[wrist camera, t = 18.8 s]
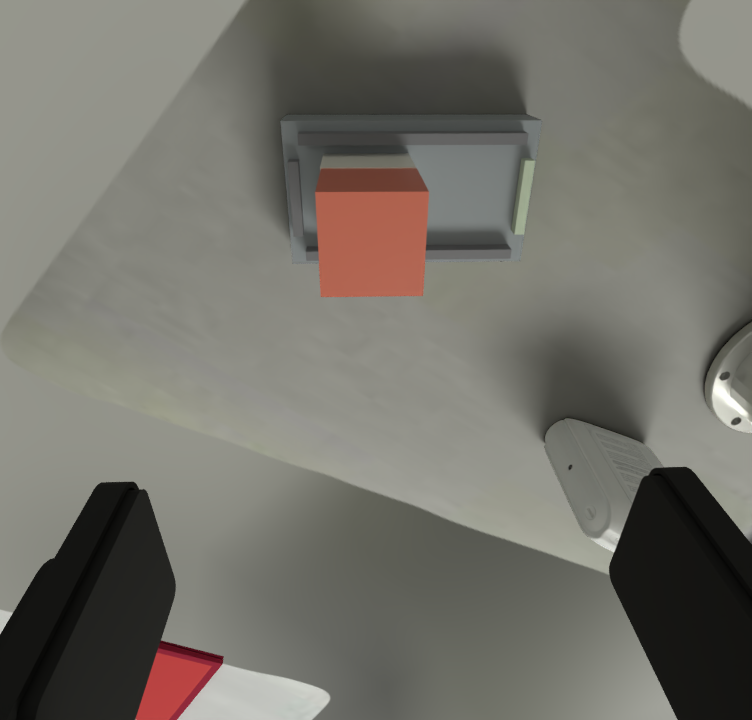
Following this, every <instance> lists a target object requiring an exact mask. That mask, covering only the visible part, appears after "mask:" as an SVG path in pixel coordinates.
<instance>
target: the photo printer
mask: <svg viewBox="0 0 752 720" xmlns="http://www.w3.org/2000/svg"><path fill="white" fill-rule="evenodd" d="M545 442H546V444H545V446H544V448H545V452H546V454H547V456H548V459H549V461H550V463H551V465H552V467H553V470H554V472H555V474H556V476H557V478H558V481H559V483H560V485H561V487H562V489H563V491H564V494H565V496H566V498H567V500H568V502H569V505H570V507H571V509H572V511H573V513H574V515H575V517H576V519H577V522H578V524H579V526H580V528H581V530H582V531H583V533H584V534H585V535H586V536H587V537H589V538H590V539H592V540H593V541H594V542H596V543H597V544H599V545H601V546H602V547H604V548H606V549H608V550H610V551H612V552H615V549H616V546H617V544H618V541H619V538H620V536H621V533H622V530H623V528H624V525H625V522H626V520H627V517H628V514H629V511H630V509H631V506H632V503H633V501H634V498H635V495H636V493H637V490H638V487H639V485H640V482H641V480H642V478H643V477H644V476H648V475H649V473H650V471H651V470H652V469H654V468H664V467H663V465H662V464H661V462H660V461H659V459H658V458H657V457H656V455H655V454H654V453H653V451H652V450H651V449H650V448H649V447H647V446H646V445H644V444H643V443H641V442H639V441H636V440H634V439H631V438H629V437H626V436H623V435H620V434H618V433H615V432H612V431H609V430H606V429H603V428H600V427H598V426H595V425H592V424H589V423H585V422H582V421H579V420H575V419H570V418H565V419H564V420H560V421H558V422H556V423H555V424H553V425H552V426H551V427H550V428H549V430H548V431H547V433H546V436H545Z"/></svg>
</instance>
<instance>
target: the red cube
mask: <svg viewBox="0 0 752 720" xmlns="http://www.w3.org/2000/svg"><path fill="white" fill-rule="evenodd" d="M315 198H316V216H317V234H318V253H319V271H320V289H321V297H361V296H423V288H424V271H425V254H426V236H427V219H428V202H429V190H428V189H427V187H426V185H425V183H424V181H423V179H422V177H421V175H420V173H419V171H418V170H417V168H321V170H320V174H319V179H318V183H317V187H316V191H315Z"/></svg>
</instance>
